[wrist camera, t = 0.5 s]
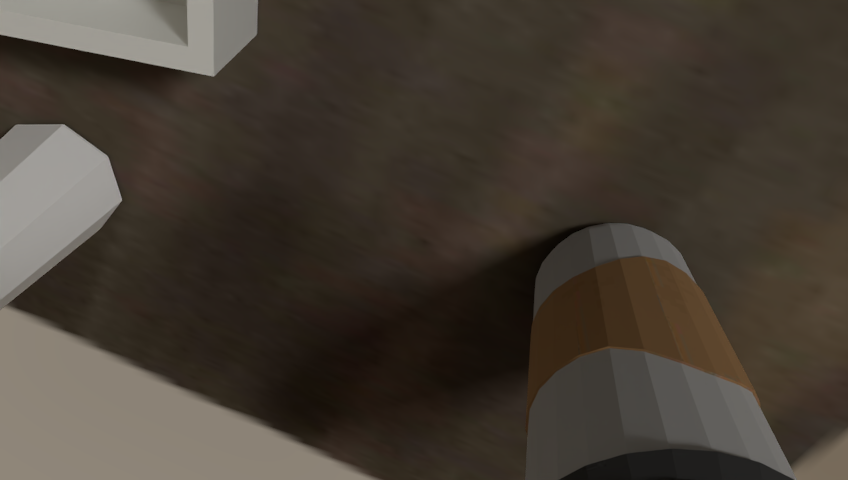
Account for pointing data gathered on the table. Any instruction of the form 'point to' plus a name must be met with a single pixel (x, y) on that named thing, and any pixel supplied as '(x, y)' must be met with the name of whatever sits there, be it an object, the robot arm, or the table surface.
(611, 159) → the table surface
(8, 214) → the pepper shaker
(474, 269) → the table surface
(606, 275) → the coffee cup
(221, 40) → the box
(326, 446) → the table surface
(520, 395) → the table surface
